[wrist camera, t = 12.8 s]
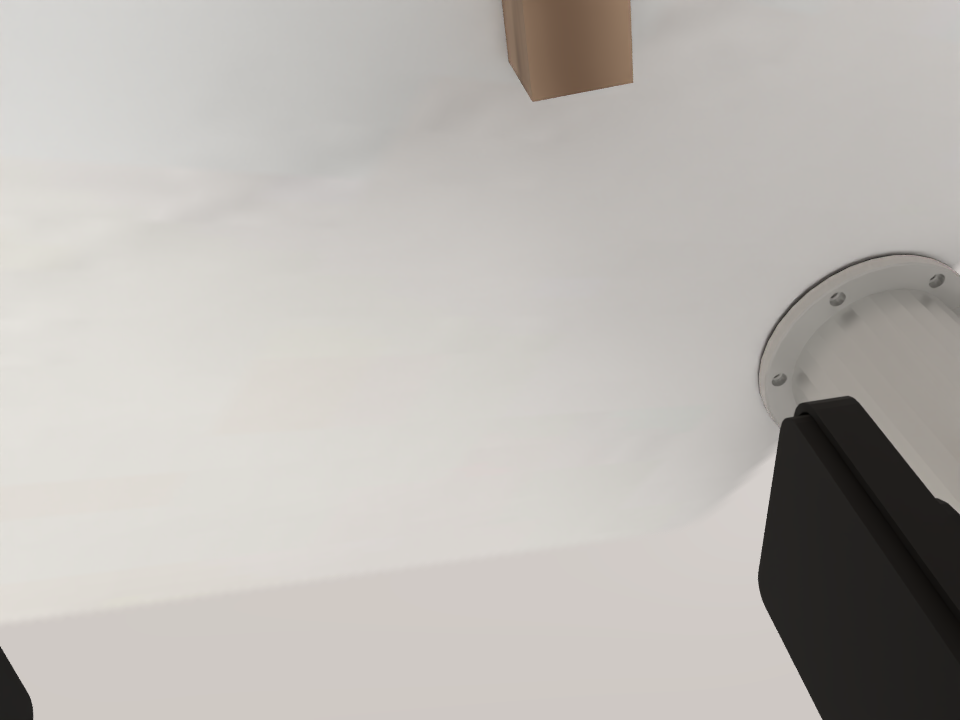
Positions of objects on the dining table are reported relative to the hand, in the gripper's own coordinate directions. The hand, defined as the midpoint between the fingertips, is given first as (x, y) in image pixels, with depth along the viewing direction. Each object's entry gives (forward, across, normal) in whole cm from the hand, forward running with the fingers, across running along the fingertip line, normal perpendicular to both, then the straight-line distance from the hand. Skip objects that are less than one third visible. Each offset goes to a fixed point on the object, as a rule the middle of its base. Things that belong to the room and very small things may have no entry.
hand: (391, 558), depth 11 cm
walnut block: (+32, -8, +2) cm, 33 cm away
